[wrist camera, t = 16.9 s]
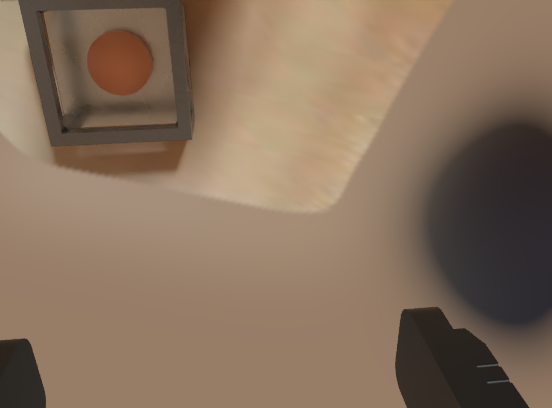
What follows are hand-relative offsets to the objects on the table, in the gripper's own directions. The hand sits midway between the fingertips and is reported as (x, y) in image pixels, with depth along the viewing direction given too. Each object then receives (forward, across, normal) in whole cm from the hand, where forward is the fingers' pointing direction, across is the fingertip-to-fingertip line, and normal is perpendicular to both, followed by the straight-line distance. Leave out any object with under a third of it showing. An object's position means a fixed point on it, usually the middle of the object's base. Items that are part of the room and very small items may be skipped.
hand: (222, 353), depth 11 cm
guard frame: (+36, +8, 0) cm, 37 cm away
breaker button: (+35, +8, 0) cm, 36 cm away
